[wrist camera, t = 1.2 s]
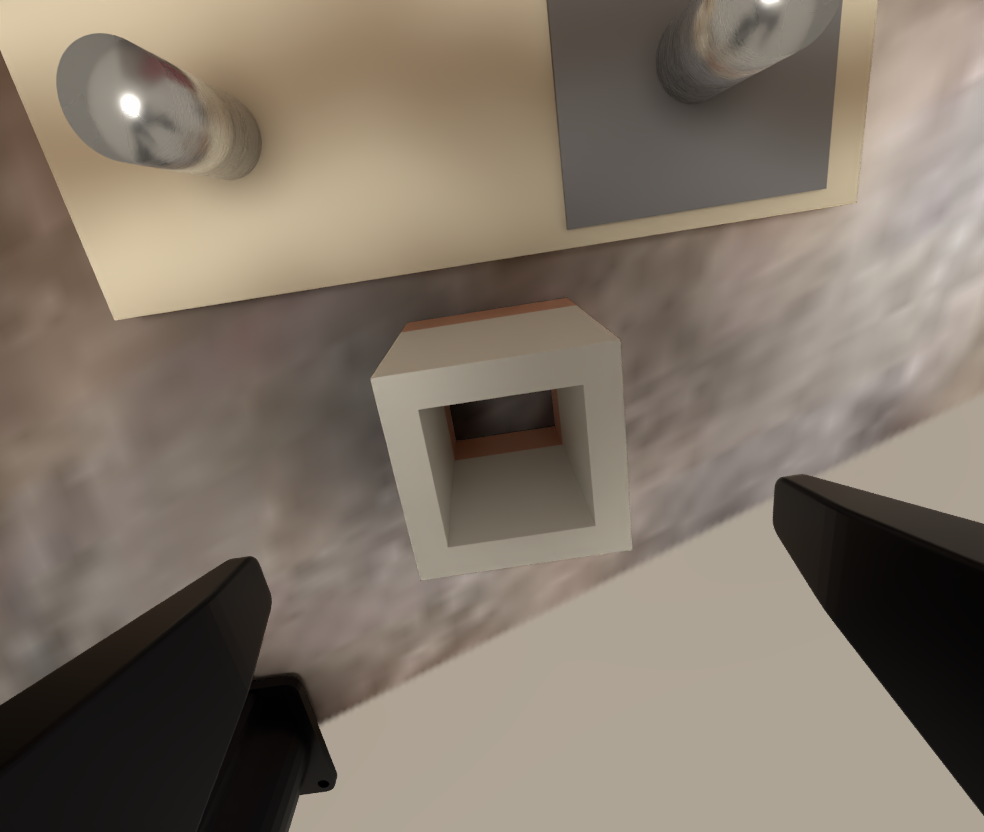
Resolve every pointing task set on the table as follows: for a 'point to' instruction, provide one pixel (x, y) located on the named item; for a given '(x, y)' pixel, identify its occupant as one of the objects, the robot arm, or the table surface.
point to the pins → (236, 135)
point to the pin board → (432, 137)
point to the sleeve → (507, 439)
